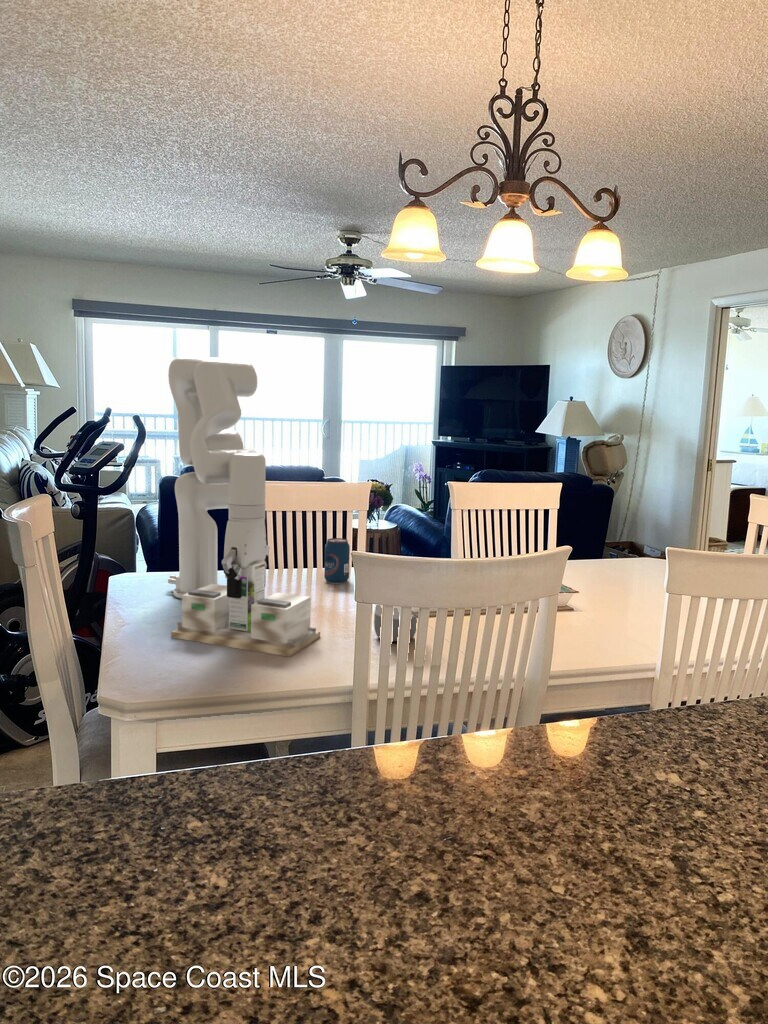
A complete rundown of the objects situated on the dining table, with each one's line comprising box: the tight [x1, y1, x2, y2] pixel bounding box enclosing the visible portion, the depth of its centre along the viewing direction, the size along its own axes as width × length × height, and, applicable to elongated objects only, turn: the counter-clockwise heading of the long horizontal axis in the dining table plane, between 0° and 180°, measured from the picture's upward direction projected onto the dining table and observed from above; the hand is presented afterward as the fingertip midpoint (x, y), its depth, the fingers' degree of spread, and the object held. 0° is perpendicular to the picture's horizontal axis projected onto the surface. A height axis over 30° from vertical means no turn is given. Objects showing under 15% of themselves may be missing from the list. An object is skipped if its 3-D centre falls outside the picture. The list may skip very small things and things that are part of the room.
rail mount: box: [170, 584, 321, 657], centre depth 156 cm, size 28×14×10 cm, turn 70°
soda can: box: [323, 537, 351, 585], centre depth 207 cm, size 7×7×12 cm
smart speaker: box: [373, 604, 418, 644], centre depth 158 cm, size 10×9×14 cm
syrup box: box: [229, 561, 266, 632], centre depth 156 cm, size 6×6×14 cm
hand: (246, 592), depth 156 cm, fingers open, 9 cm apart
